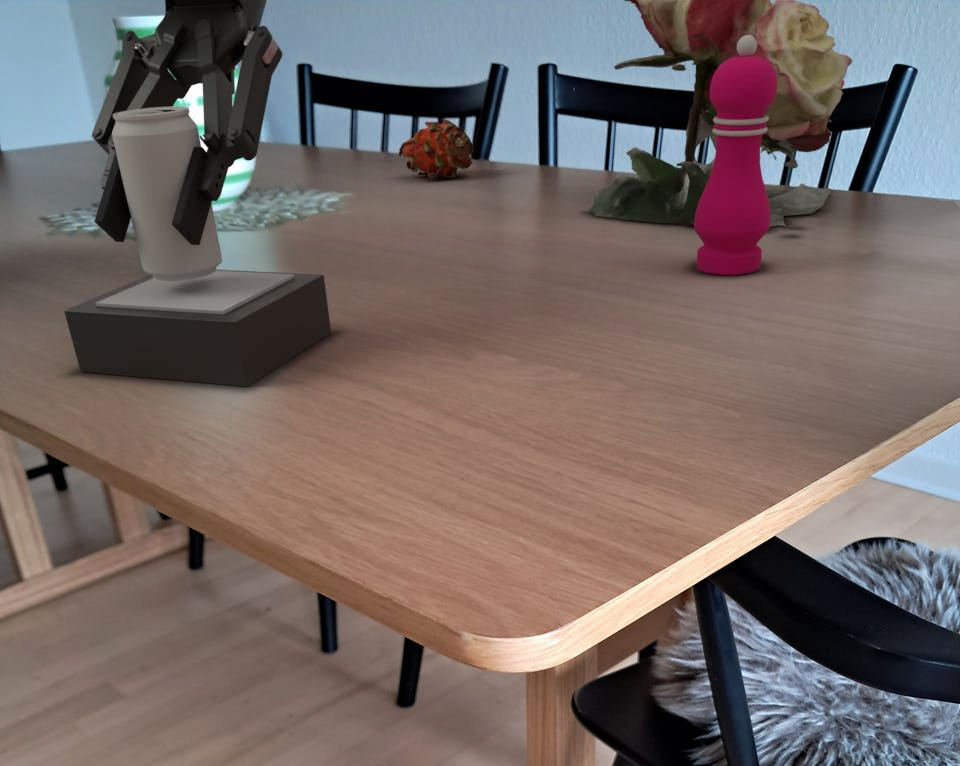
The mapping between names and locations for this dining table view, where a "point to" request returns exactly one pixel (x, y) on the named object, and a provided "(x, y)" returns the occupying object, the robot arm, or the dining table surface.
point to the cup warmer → (201, 326)
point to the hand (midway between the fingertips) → (147, 233)
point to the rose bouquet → (709, 42)
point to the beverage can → (162, 190)
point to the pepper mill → (736, 166)
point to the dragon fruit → (438, 150)
